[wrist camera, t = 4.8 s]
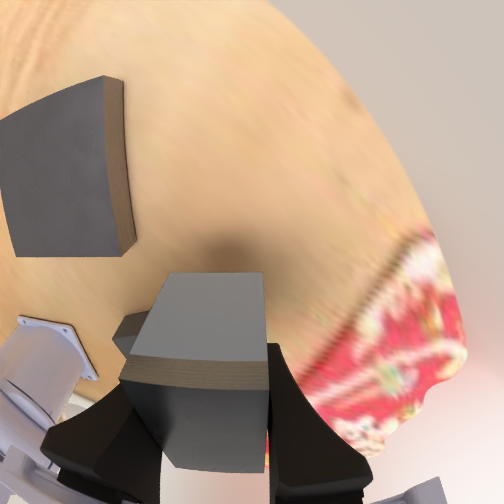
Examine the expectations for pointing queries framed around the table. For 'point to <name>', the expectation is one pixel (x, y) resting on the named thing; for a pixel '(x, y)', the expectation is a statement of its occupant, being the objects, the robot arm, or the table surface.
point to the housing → (204, 372)
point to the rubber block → (129, 332)
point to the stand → (68, 174)
